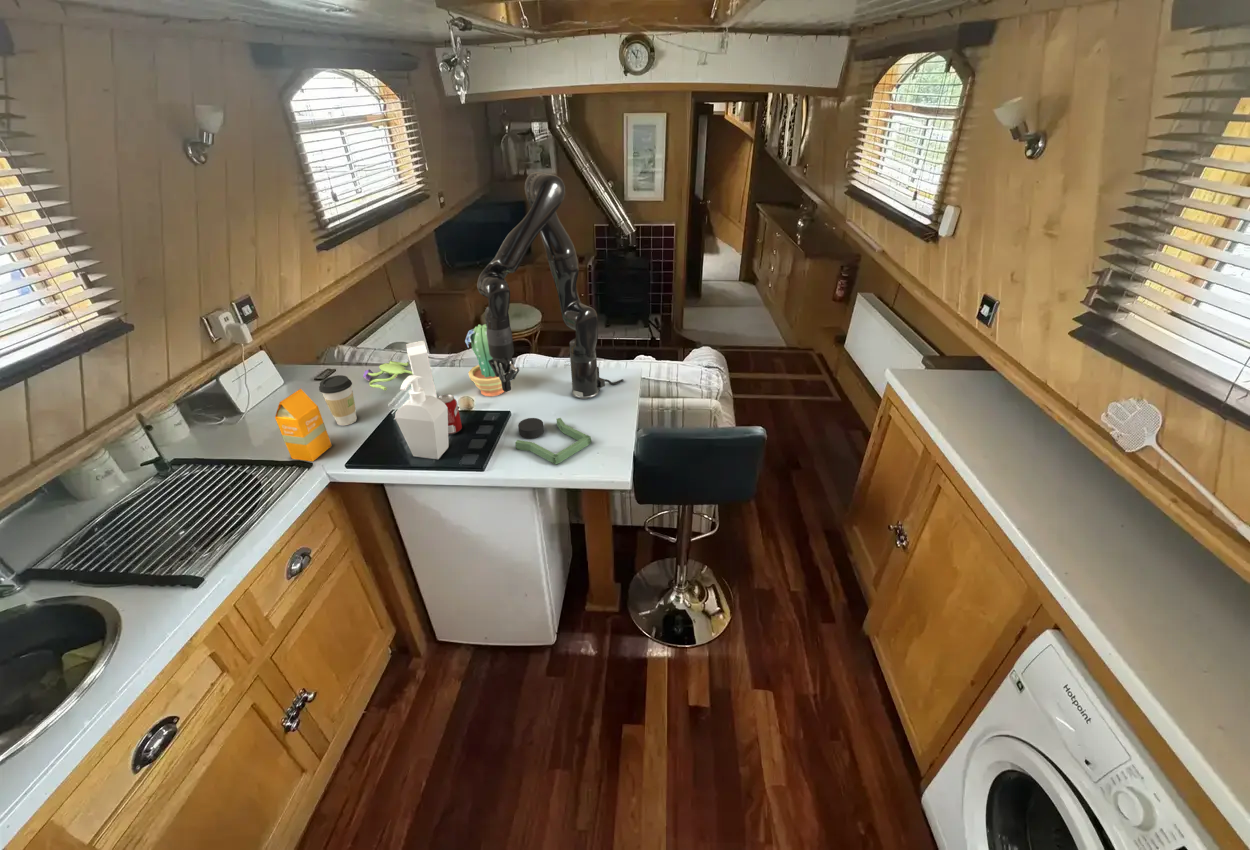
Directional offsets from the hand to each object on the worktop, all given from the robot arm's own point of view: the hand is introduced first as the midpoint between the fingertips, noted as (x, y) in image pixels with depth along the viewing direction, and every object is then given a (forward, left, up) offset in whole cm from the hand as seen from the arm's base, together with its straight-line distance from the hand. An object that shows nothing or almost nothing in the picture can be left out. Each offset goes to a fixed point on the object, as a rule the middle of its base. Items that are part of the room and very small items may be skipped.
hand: (506, 390), depth 178 cm
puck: (0, +10, -12) cm, 16 cm away
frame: (0, +21, -12) cm, 24 cm away
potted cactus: (-10, -23, -12) cm, 28 cm away
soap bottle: (+28, -5, -12) cm, 31 cm away
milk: (+9, -36, -12) cm, 39 cm away
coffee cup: (+35, -44, -12) cm, 57 cm away
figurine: (+9, -59, -12) cm, 61 cm away
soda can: (+16, -11, -12) cm, 23 cm away
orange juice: (+51, -34, -12) cm, 62 cm away
